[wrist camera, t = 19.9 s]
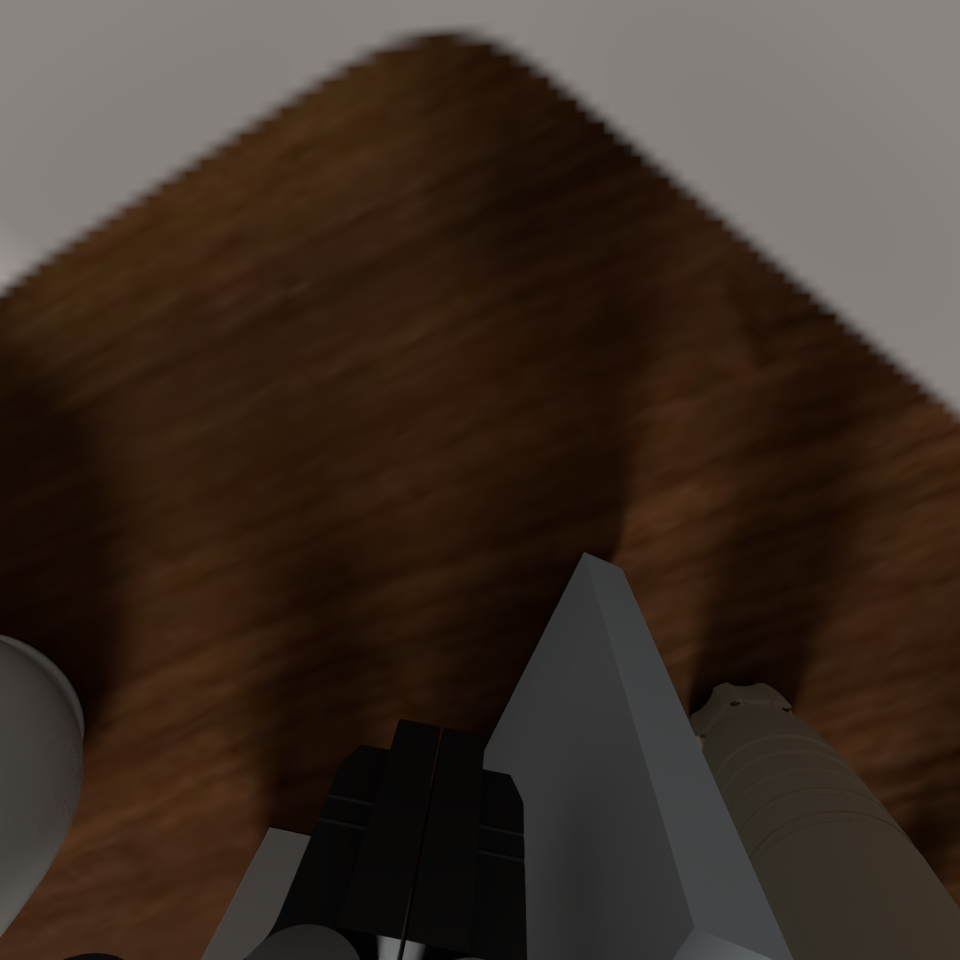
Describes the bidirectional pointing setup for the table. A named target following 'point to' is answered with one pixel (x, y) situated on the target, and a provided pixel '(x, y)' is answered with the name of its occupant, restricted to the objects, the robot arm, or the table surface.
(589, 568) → the door
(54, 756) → the lidded jar
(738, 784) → the tan tapered grip
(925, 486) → the table surface
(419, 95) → the table surface
